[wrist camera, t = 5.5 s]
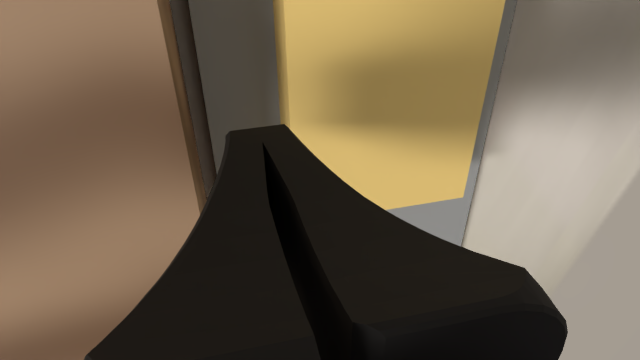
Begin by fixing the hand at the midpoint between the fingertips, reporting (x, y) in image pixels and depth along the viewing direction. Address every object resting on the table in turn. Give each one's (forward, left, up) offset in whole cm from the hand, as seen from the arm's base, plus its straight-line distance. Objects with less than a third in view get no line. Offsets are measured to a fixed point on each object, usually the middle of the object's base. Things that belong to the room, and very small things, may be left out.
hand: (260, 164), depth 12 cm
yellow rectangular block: (0, -4, -3) cm, 5 cm away
